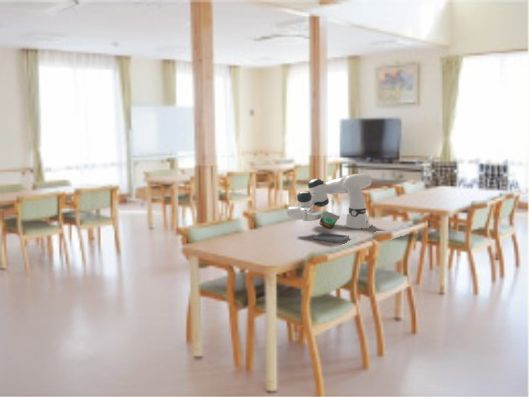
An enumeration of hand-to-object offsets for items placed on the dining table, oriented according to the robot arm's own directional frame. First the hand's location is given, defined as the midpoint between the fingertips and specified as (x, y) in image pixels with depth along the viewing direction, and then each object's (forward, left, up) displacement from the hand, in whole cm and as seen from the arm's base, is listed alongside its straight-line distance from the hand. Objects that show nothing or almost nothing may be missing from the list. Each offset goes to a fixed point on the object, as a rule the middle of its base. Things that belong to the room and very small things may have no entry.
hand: (328, 216), depth 350 cm
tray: (0, +2, -15) cm, 15 cm away
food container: (+2, 0, -7) cm, 8 cm away
